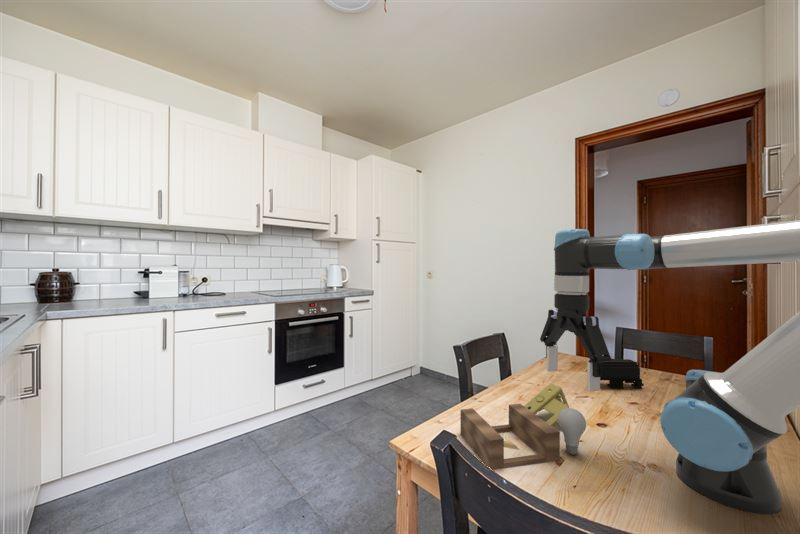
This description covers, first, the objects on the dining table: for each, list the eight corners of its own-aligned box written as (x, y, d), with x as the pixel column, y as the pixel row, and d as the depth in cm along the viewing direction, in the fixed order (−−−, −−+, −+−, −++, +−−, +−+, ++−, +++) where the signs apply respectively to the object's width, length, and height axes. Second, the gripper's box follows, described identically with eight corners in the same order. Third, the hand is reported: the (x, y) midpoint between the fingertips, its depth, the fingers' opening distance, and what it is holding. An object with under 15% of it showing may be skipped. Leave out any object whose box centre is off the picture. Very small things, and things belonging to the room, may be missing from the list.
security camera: (648, 390, 119) (648, 363, 119) (598, 389, 119) (598, 363, 119) (634, 383, 126) (634, 358, 126) (587, 383, 126) (587, 358, 126)
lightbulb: (585, 464, 73) (585, 417, 73) (556, 456, 77) (556, 410, 77) (586, 452, 79) (586, 407, 79) (559, 444, 82) (559, 401, 82)
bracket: (590, 423, 93) (580, 396, 91) (556, 455, 88) (544, 427, 86) (560, 407, 103) (550, 382, 100) (529, 435, 98) (517, 409, 96)
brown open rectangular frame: (559, 461, 75) (559, 431, 75) (489, 472, 71) (489, 440, 71) (519, 428, 90) (519, 403, 90) (460, 435, 86) (460, 409, 86)
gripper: (631, 297, 67) (630, 399, 67) (550, 289, 91) (550, 363, 91) (600, 298, 65) (600, 402, 65) (526, 289, 89) (526, 365, 89)
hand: (571, 380), depth 78 cm, fingers open, 13 cm apart
